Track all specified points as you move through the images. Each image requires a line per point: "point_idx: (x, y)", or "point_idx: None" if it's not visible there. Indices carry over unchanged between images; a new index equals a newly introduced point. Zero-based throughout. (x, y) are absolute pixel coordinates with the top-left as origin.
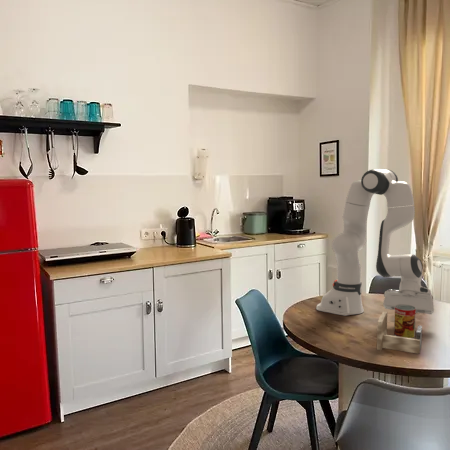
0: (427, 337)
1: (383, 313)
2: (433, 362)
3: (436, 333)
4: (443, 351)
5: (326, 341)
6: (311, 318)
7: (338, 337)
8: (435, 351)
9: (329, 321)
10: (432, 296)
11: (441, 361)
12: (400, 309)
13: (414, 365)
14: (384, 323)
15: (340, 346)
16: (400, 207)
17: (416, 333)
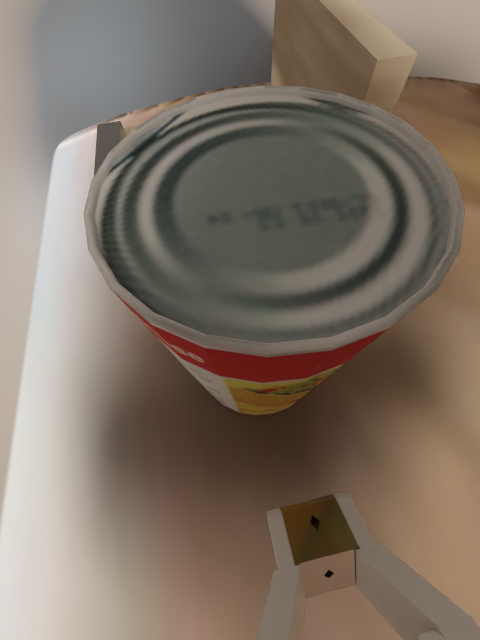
0: (124, 402)
1: (373, 26)
2: (89, 160)
3: (64, 549)
4: (47, 257)
5: (463, 115)
6: None
7: (470, 158)
8: (80, 239)
9: None
10: None
11: (63, 177)
12: (282, 94)
13: (143, 121)
14: (304, 63)
15: (394, 111)
16: None
17: (124, 132)
